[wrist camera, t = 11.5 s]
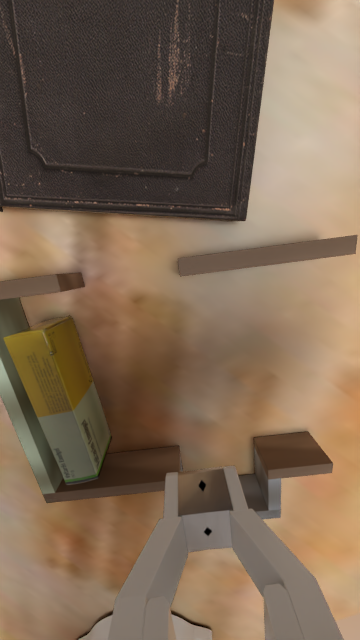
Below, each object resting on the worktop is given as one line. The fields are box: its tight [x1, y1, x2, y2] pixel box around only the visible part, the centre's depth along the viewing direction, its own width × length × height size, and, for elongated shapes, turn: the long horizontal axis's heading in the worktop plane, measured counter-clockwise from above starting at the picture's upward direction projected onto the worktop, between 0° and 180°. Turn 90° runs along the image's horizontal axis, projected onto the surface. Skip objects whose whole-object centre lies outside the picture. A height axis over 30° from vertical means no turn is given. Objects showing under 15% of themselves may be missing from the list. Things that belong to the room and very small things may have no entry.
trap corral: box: [0, 235, 357, 519], centre depth 15 cm, size 22×23×3 cm
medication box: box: [3, 315, 112, 485], centre depth 15 cm, size 12×3×4 cm, turn 10°
